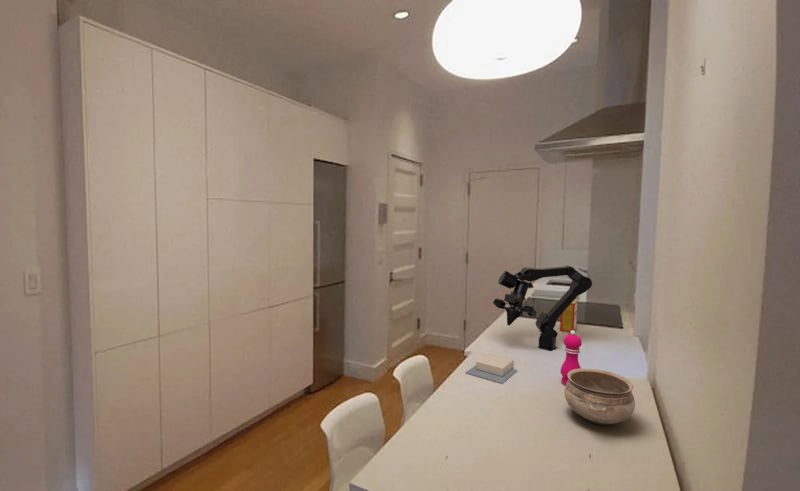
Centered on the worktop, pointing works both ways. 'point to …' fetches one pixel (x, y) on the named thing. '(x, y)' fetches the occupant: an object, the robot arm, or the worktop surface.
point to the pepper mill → (570, 355)
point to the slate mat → (491, 375)
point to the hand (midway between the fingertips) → (508, 325)
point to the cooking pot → (599, 395)
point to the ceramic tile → (495, 364)
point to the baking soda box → (569, 318)
